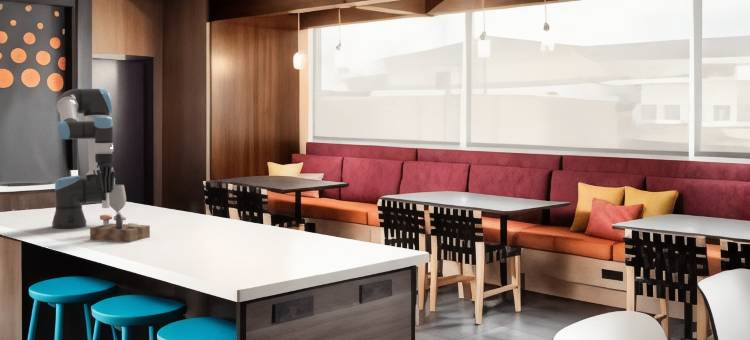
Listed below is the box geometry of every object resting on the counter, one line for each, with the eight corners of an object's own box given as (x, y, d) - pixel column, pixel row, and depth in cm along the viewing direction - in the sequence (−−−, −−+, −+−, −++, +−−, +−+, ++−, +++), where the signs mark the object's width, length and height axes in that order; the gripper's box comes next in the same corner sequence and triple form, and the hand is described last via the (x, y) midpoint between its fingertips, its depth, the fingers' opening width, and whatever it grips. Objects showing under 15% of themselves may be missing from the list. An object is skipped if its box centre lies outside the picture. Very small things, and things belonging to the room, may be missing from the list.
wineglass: (105, 232, 383) (104, 185, 381) (118, 230, 390) (116, 184, 388) (118, 233, 379) (116, 186, 378) (130, 231, 386) (129, 184, 384)
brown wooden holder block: (90, 239, 363) (89, 227, 363) (110, 234, 376) (110, 223, 376) (130, 242, 357) (130, 230, 356) (149, 237, 370) (149, 225, 369)
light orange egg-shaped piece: (97, 230, 367) (97, 216, 366) (105, 228, 372) (104, 214, 371) (107, 230, 365) (107, 216, 365) (114, 229, 370) (114, 215, 370)
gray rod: (114, 229, 359) (114, 212, 358) (118, 228, 361) (118, 211, 361) (119, 229, 358) (119, 212, 358) (123, 228, 360) (122, 212, 360)
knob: (125, 238, 363) (125, 223, 362) (132, 236, 367) (132, 222, 367) (135, 239, 361) (135, 224, 360) (142, 237, 366) (142, 222, 365)
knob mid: (111, 231, 365) (111, 216, 364) (118, 229, 369) (118, 215, 369) (121, 231, 363) (121, 217, 363) (128, 230, 368) (128, 215, 367)
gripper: (102, 153, 358) (103, 209, 360) (121, 152, 371) (122, 206, 372) (87, 153, 361) (88, 209, 362) (106, 152, 373) (108, 206, 375)
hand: (105, 207), depth 367 cm, fingers closed
